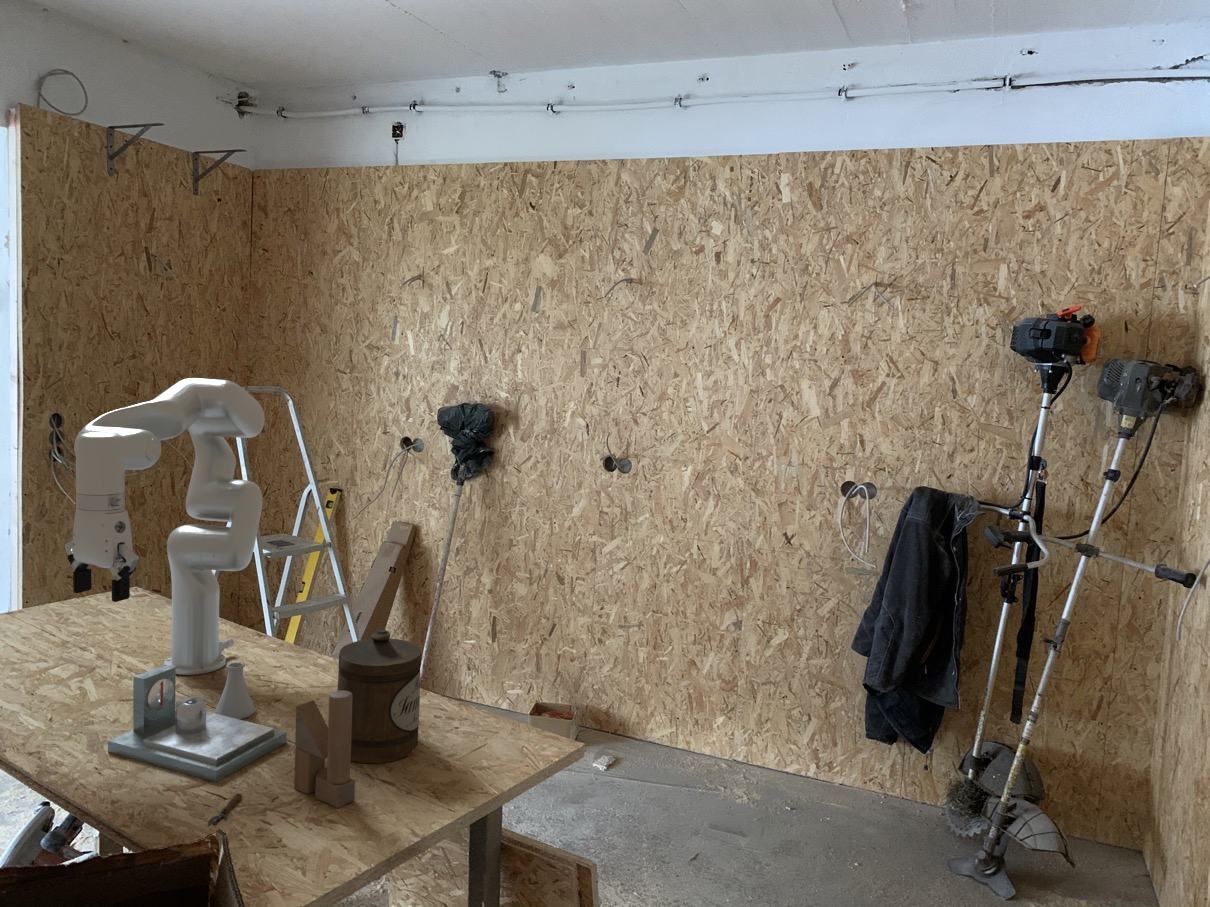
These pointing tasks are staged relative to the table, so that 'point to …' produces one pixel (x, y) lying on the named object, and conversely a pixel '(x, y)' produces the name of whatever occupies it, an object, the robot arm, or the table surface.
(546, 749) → the table surface
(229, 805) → the can opener
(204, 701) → the silver jar with knob
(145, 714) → the scale
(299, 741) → the brown wooden pieces
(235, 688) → the flask
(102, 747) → the table surface
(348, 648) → the wooden container
